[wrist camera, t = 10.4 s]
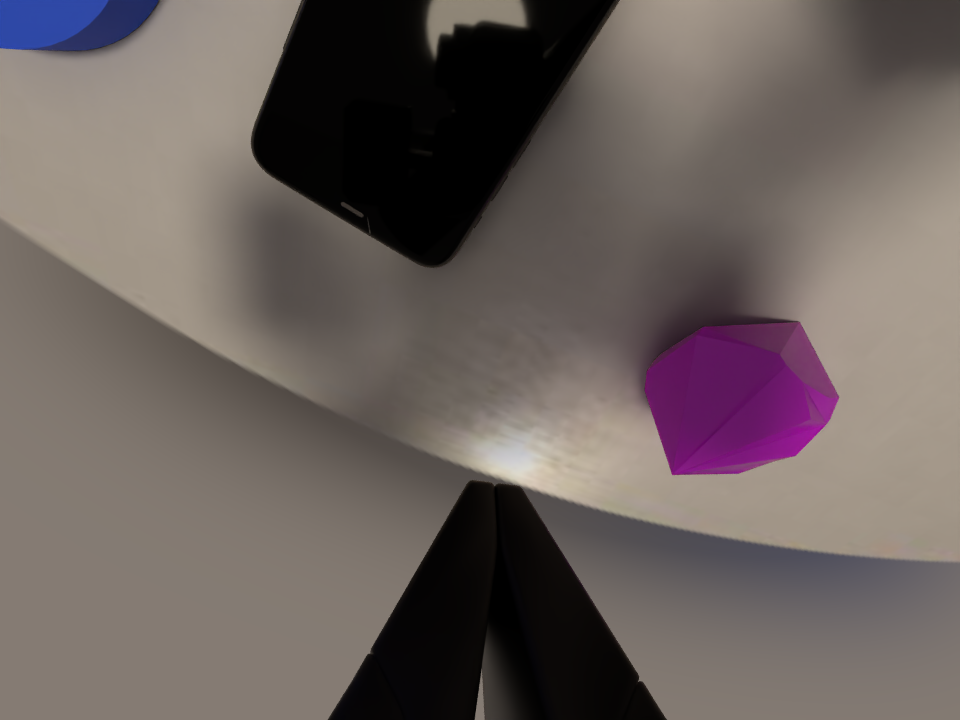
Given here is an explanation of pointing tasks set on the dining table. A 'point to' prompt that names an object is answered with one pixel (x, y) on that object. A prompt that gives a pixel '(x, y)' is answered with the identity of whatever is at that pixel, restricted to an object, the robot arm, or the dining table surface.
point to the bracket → (69, 23)
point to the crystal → (738, 397)
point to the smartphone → (416, 108)
